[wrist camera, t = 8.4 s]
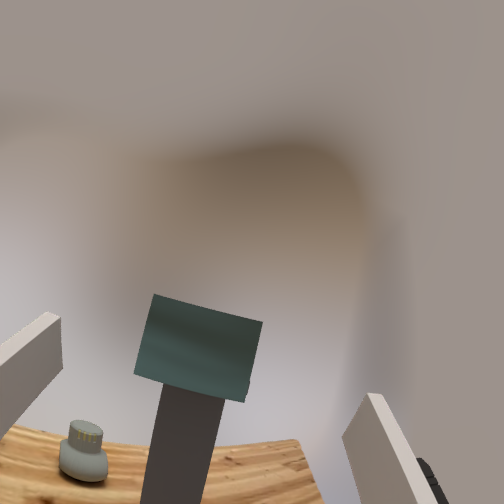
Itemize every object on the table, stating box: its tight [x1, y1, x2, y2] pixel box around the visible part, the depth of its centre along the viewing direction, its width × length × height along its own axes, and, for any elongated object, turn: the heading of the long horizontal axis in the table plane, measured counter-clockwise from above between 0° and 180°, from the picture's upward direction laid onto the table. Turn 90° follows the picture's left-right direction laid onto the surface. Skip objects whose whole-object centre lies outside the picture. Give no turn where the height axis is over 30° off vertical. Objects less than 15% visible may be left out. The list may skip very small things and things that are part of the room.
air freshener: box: [59, 420, 108, 482], centre depth 38 cm, size 11×8×10 cm
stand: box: [140, 381, 250, 504], centre depth 22 cm, size 16×12×28 cm
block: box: [134, 294, 263, 403], centre depth 23 cm, size 26×4×3 cm, turn 8°
